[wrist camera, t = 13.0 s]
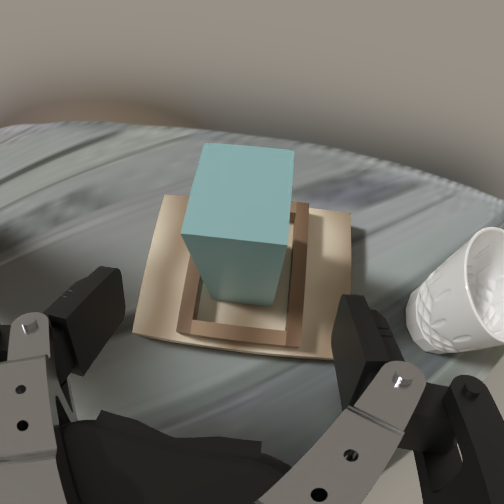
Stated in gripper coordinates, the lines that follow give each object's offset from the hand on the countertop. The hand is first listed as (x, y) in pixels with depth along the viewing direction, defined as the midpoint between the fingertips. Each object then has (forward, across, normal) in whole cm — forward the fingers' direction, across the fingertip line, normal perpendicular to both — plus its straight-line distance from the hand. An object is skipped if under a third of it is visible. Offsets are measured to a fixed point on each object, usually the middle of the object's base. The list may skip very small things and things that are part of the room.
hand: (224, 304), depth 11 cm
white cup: (+12, -17, +8) cm, 22 cm away
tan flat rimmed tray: (+14, 0, +6) cm, 15 cm away
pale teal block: (+12, 0, +4) cm, 13 cm away
